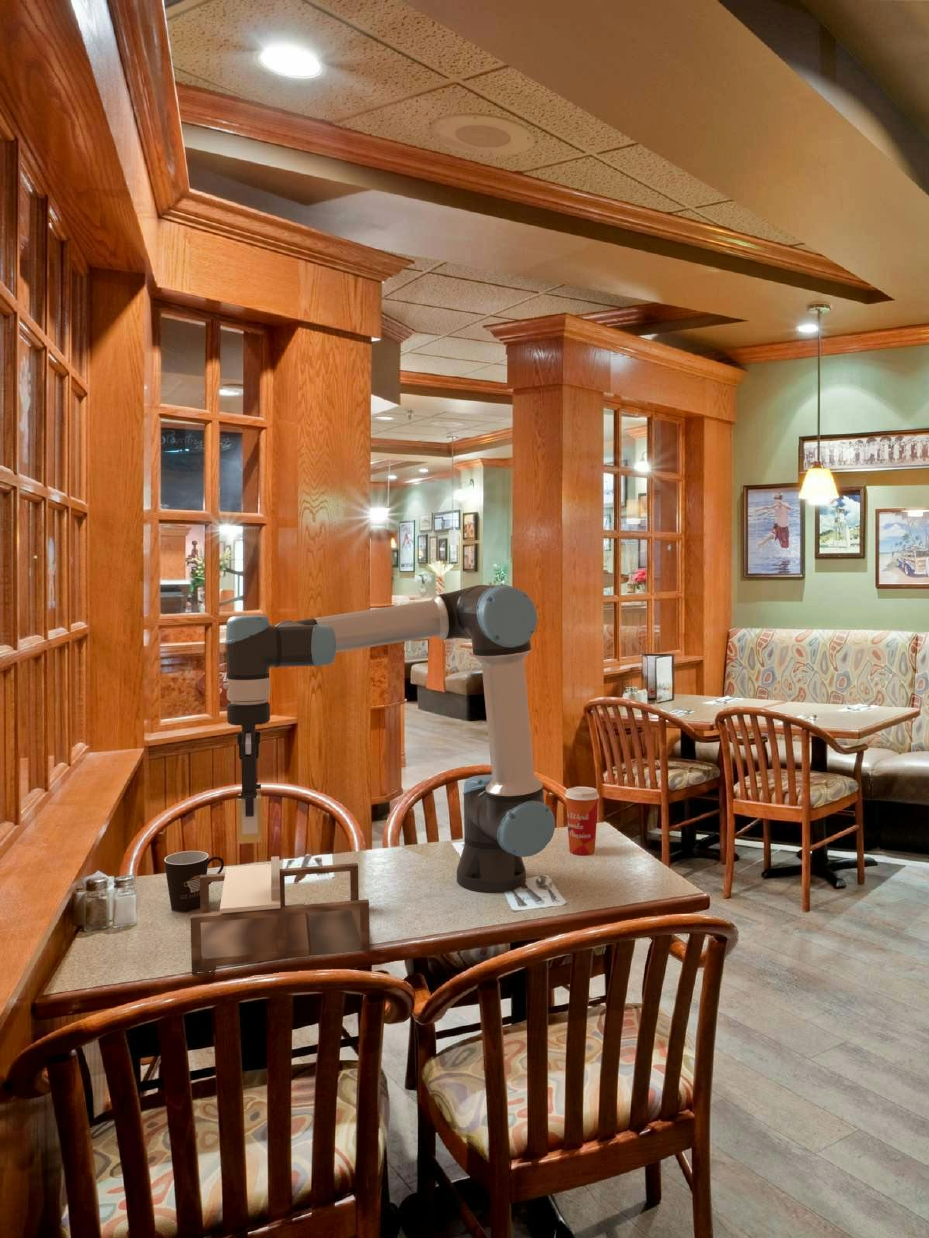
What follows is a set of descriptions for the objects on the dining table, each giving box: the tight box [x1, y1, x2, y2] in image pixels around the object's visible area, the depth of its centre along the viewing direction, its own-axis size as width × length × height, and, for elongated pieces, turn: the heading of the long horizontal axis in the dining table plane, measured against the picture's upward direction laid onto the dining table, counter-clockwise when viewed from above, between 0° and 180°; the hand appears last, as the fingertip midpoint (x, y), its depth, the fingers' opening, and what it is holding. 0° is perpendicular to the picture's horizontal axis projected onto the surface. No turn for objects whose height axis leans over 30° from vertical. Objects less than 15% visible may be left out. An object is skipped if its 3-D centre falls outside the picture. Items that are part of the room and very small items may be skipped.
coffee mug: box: [163, 850, 225, 913], centre depth 180 cm, size 12×9×10 cm
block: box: [237, 792, 263, 845], centre depth 160 cm, size 4×4×8 cm
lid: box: [219, 855, 280, 913], centre depth 161 cm, size 10×22×3 cm, turn 12°
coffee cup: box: [564, 786, 600, 857], centre depth 212 cm, size 8×8×15 cm
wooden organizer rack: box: [189, 862, 371, 975], centre depth 163 cm, size 30×22×10 cm
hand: (250, 829), depth 161 cm, fingers closed on block, 4 cm apart
